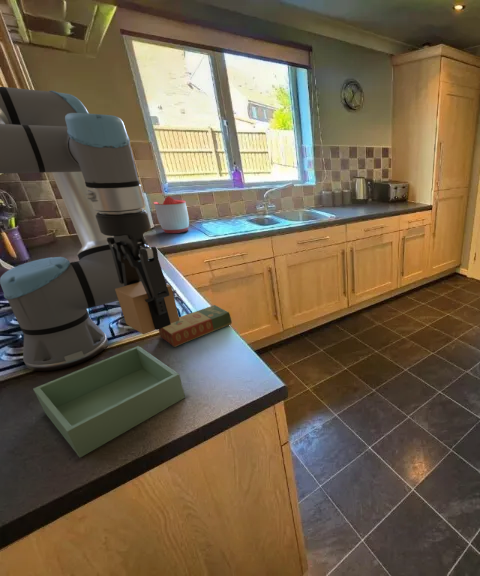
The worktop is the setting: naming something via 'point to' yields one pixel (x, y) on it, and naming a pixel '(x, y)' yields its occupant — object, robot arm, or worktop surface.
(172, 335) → the carton
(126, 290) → the box
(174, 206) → the citrus juicer
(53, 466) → the worktop surface
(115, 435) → the basket
